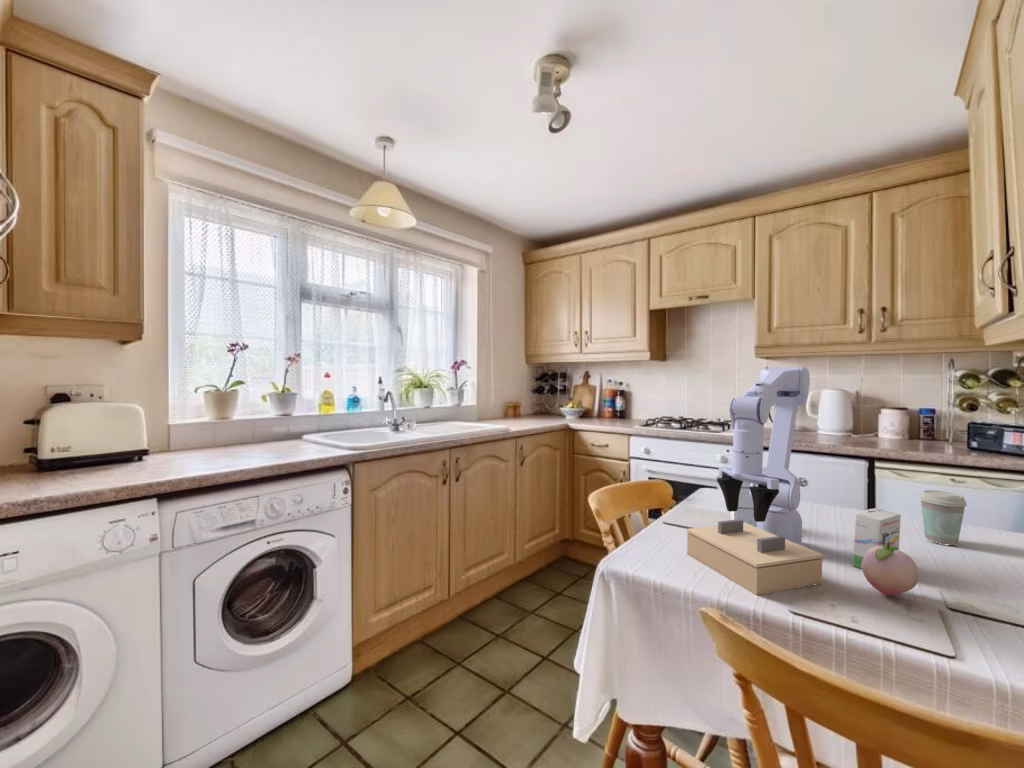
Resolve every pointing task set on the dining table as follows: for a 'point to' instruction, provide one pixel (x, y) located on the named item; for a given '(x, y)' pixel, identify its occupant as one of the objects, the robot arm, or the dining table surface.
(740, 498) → the white printed box
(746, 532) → the lid panel
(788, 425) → the robot arm
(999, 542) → the dining table surface
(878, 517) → the ink box
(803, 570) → the carton
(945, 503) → the coffee cup
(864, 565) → the decorative fruit
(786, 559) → the lid panel
